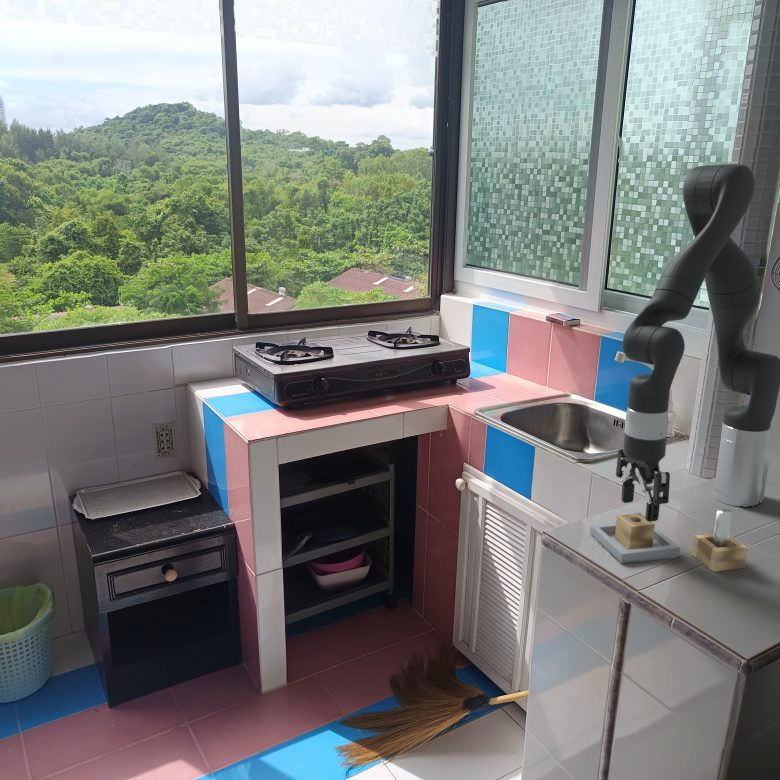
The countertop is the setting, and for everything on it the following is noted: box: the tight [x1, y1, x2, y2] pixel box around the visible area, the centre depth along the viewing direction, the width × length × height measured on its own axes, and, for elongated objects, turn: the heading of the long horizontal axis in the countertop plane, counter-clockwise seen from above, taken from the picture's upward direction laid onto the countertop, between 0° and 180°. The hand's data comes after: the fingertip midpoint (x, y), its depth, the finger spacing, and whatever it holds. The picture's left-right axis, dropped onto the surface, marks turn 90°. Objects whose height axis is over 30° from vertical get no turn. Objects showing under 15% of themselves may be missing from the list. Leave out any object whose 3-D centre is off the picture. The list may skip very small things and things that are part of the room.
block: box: [615, 512, 656, 550], centre depth 141 cm, size 5×5×5 cm
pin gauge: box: [712, 507, 733, 548], centre depth 135 cm, size 3×3×10 cm
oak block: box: [691, 532, 749, 573], centre depth 136 cm, size 6×6×4 cm
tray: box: [589, 522, 682, 565], centre depth 142 cm, size 12×12×2 cm
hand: (638, 510), depth 142 cm, fingers open, 8 cm apart
